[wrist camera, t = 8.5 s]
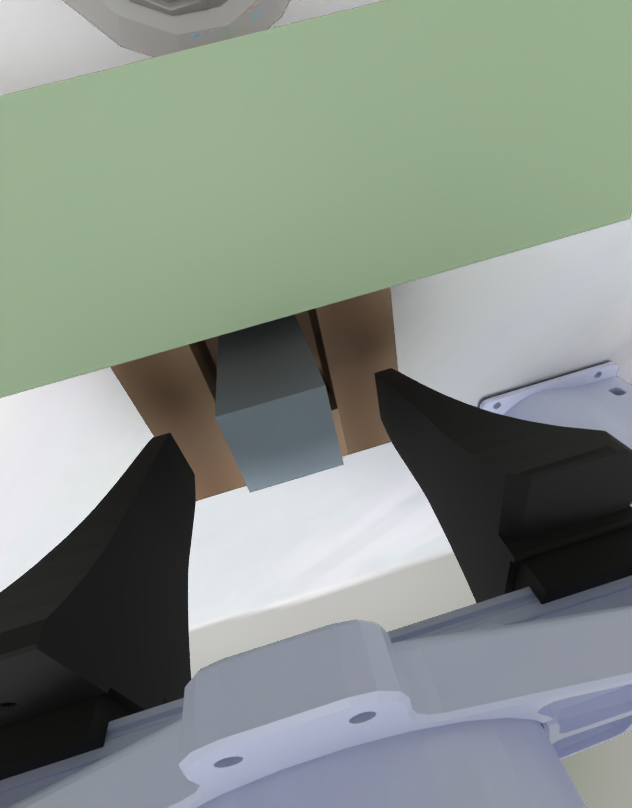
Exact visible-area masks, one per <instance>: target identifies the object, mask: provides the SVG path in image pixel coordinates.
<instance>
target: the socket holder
mask: <svg viewBox="0 0 632 808" xmlns="http://www.w3.org/2000/svg"><path fill="white" fill-rule="evenodd" d="M631 213H632V0H384V1H380V2H376V3H372V4H368V5H364V6H360V7H356V8H352V9H348V10H344V11H340V12H336V13H332V14H328V15H324V16H320V17H316V18H312V19H308V20H304V21H300V22H296V23H292V24H288V25H284V26H280V27H276V28H272V29H268V30H264V31H260V32H256V33H252V34H248V35H243V36H239V37H235V38H231V39H227V40H223V41H219V42H215V43H211V44H207V45H203V46H199V47H195V48H191V49H187V50H183V51H179V52H175V53H171V54H167V55H163V56H159V57H155V58H151V59H147V60H143V61H139V62H135V63H131V64H127V65H123V66H119V67H115V68H111V69H107V70H103V71H99V72H95V73H91V74H87V75H83V76H79V77H75V78H71V79H67V80H63V81H59V82H55V83H51V84H47V85H43V86H39V87H35V88H31V89H26V90H22V91H18V92H14V93H10V94H6V95H2V96H0V398H2V397H6V396H9V395H13V394H16V393H20V392H23V391H27V390H30V389H34V388H37V387H41V386H44V385H48V384H51V383H55V382H58V381H62V380H65V379H69V378H72V377H76V376H79V375H83V374H86V373H90V372H93V371H97V370H100V369H104V368H107V367H111V369H112V370H113V372H114V373H115V375H116V377H117V378H118V380H119V381H120V383H121V384H122V386H123V388H124V389H125V391H126V392H127V394H128V396H129V397H130V399H131V400H132V402H133V404H134V405H135V407H136V408H137V410H138V412H139V413H140V415H141V416H142V418H143V420H144V421H145V423H146V424H147V426H148V428H149V429H150V431H151V432H152V434H153V435H154V437H157V436H160V435H163V434H167V433H171V434H172V436H173V438H174V440H175V441H176V443H177V445H178V446H179V448H180V450H181V452H182V453H183V455H184V457H185V458H186V460H187V462H188V464H189V465H190V467H191V469H192V470H193V472H194V474H195V492H196V501H198V500H201V499H204V498H208V497H211V496H214V495H218V494H221V493H224V492H227V491H231V490H234V489H237V488H241V487H244V486H247V485H246V483H245V481H244V478H243V476H242V474H241V472H240V470H239V468H238V466H237V464H236V461H235V459H234V457H233V455H232V453H231V451H230V449H229V446H228V444H227V442H226V440H225V438H224V436H223V434H222V432H221V429H220V427H219V425H218V423H217V421H216V419H215V402H216V380H217V358H218V336H220V335H223V334H227V333H230V332H234V331H237V330H241V329H244V328H248V327H252V326H255V325H259V324H262V323H266V322H269V321H273V320H276V319H280V318H283V317H287V316H290V315H294V314H295V316H296V319H297V321H298V323H299V326H300V328H301V330H302V332H303V335H304V337H305V339H306V342H307V344H308V346H309V349H310V351H311V353H312V355H313V358H314V360H315V362H316V365H317V367H318V369H319V372H320V374H321V376H322V378H323V381H324V383H325V385H326V390H327V394H328V398H329V403H330V407H331V412H332V416H333V420H334V425H335V429H336V433H337V438H338V442H339V447H340V451H341V455H342V457H343V456H346V455H349V454H353V453H356V452H359V451H362V450H366V449H369V448H372V447H376V446H379V445H382V444H385V443H389V442H391V440H390V438H389V436H388V434H387V432H386V429H385V427H384V425H383V423H382V421H381V418H380V411H379V404H378V396H377V389H376V382H375V375H374V373H376V372H379V371H383V370H386V369H389V368H392V369H394V370H396V371H398V366H397V356H396V345H395V334H394V324H393V313H392V302H391V291H390V287H392V286H396V285H399V284H403V283H406V282H410V281H413V280H417V279H420V278H424V277H427V276H431V275H434V274H438V273H441V272H445V271H448V270H452V269H455V268H459V267H462V266H466V265H469V264H473V263H476V262H480V261H483V260H487V259H490V258H494V257H497V256H501V255H505V254H508V253H512V252H515V251H519V250H522V249H526V248H529V247H533V246H536V245H540V244H543V243H547V242H550V241H554V240H557V239H561V238H564V237H568V236H571V235H575V234H578V233H582V232H585V231H589V230H592V229H596V228H599V227H603V226H606V225H610V224H613V223H617V222H620V221H624V220H628V219H630V217H631Z"/></svg>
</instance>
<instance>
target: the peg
mask: <svg viewBox="0 0 632 808" xmlns="http://www.w3.org/2000/svg"><path fill="white" fill-rule="evenodd" d="M215 419H216V421H217V423H218V425H219V427H220V429H221V432H222V434H223V436H224V438H225V440H226V442H227V444H228V446H229V449H230V451H231V453H232V455H233V457H234V459H235V461H236V464H237V466H238V468H239V470H240V472H241V474H242V476H243V478H244V481H245V483H246V485H247V487H248V489H249V491H250V492H254V491H257V490H260V489H264V488H267V487H270V486H274V485H277V484H280V483H284V482H287V481H290V480H294V479H297V478H300V477H304V476H307V475H310V474H314V473H317V472H320V471H324V470H327V469H330V468H334V467H337V466H340V465H344V464H343V460H342V455H341V451H340V447H339V442H338V438H337V433H336V429H335V425H334V420H333V416H332V412H331V407H330V403H329V398H328V394H327V390H326V385H325V383H324V381H323V378H322V376H321V374H320V372H319V369H318V367H317V365H316V362H315V360H314V358H313V355H312V353H311V351H310V349H309V346H308V344H307V342H306V339H305V337H304V335H303V332H302V330H301V328H300V326H299V323H298V321H297V319H296V316H295V314H294V315H290V316H287V317H283V318H280V319H276V320H273V321H269V322H266V323H262V324H259V325H255V326H252V327H248V328H244V329H241V330H237V331H234V332H230V333H227V334H223V335H220V336H218V358H217V380H216V402H215Z"/></svg>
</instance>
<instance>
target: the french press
mask: <svg viewBox="0 0 632 808" xmlns="http://www.w3.org/2000/svg"><path fill="white" fill-rule="evenodd" d="M63 1H64V2H65V3H67V4H68V5H69V6H70V7H72V8H73V9H74V10H75V11H77V12H78V13H79V14H80V15H82V16H83V17H84V18H85V19H87V20H88V21H89V22H91V23H92V24H93V25H94V26H96V27H97V28H98V29H99V30H101V31H102V32H103V33H104V34H106V35H107V36H108V37H109V38H111V39H112V40H113V41H114V42H116V43H117V44H118V45H120V46H121V47H124V48H127V49H130V50H134V51H137V52H140V53H143V54H146V55H150V56H153V57H159V56H163V55H167V54H171V53H175V52H179V51H183V50H187V49H191V48H195V47H199V46H203V45H207V44H211V43H215V42H219V41H223V40H227V39H231V38H235V37H239V36H243V35H248V34H252V33H256V32H260V31H264V30H267V29H268V28H269V27H270V26H271V25H273V24H274V23H275V22H276V21H277V20H278V19H280V18H281V17H282V16H283V14H284V12H285V9H286V7H287V5H288V3H289V1H290V0H63Z"/></svg>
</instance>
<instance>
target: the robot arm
mask: <svg viewBox="0 0 632 808" xmlns="http://www.w3.org/2000/svg"><path fill="white" fill-rule="evenodd" d="M618 369H619V365H618V364H616V363H614V362H607V363H604V364H601V365H597V366H594V367H591V368H588V369H584V370H581V371H578V372H574V373H571V374H568V375H564V376H561V377H558V378H554V379H551V380H548V381H545V382H541V383H538V384H535V385H531V386H528V387H525V388H521V389H518V390H515V391H511V392H508V393H505V394H501V395H498V396H495V397H492V398H488V399H486V400H484V401H483V402H482V403H481V404H480V407H479V408H477V407H474V406H471V405H468V404H466V403H463V402H460V401H458V400H455V399H453V398H451V397H448V396H446V395H443V394H441V393H439V392H437V391H435V390H433V389H431V388H428V387H426V386H424V385H422V384H421V383H419V382H417V381H415V380H413V379H411V378H409V377H407V376H405V375H404V374H402V373H400V372H398V371H396V370H394V369H392V368H389V369H386V370H383V371H379V372H376V373H374V375H375V382H376V389H377V396H378V404H379V411H380V418H381V421H382V423H383V425H384V427H385V429H386V432H387V434H388V436H389V438H390V440H391V442H392V444H393V445H394V447H395V448H396V450H397V451H398V453H399V455H400V456H401V458H402V459H403V461H404V462H405V464H406V465H407V467H408V468H409V470H410V472H411V473H412V475H413V476H414V478H415V479H416V481H417V482H418V484H419V485H420V487H421V489H422V490H423V492H424V494H425V495H426V497H427V499H428V501H429V503H430V505H431V507H432V509H433V511H434V513H435V515H436V517H437V519H438V521H439V523H440V525H441V527H442V529H443V531H444V533H445V535H446V537H447V539H448V541H449V543H450V545H451V547H452V549H453V552H454V554H455V556H456V558H457V560H458V562H459V565H460V567H461V569H462V571H463V573H464V575H465V577H466V580H467V582H468V584H469V587H470V589H471V591H472V593H473V596H474V598H475V600H476V604H473V605H470V606H467V607H464V608H461V609H457V610H454V611H451V612H448V613H445V614H442V615H439V616H436V617H433V618H430V619H426V620H424V621H420V622H417V623H414V624H411V625H408V626H405V627H402V628H399V629H396V630H392V631H389V632H386V631H385V630H384V629H383V628H382V627H381V626H380V625H379V624H377V623H375V622H370V621H362V620H351V621H346V622H340V623H335V624H331V625H327V626H324V627H321V628H318V629H315V630H312V631H309V632H306V633H303V634H300V635H296V636H293V637H290V638H287V639H284V640H281V641H277V642H274V643H271V644H268V645H265V646H262V647H259V648H255V649H252V650H249V651H246V652H243V653H240V654H237V655H233V656H230V657H227V658H224V659H221V660H219V661H217V662H215V663H213V664H210V665H208V666H206V667H204V668H202V669H200V670H199V671H198V672H197V674H196V675H195V676H194V677H193V678H192V679H191V671H190V652H189V632H188V566H189V555H190V546H191V538H192V529H193V521H194V512H195V502H196V492H195V474H194V472H193V470H192V469H191V467H190V465H189V464H188V462H187V460H186V458H185V457H184V455H183V453H182V452H181V450H180V448H179V446H178V445H177V443H176V441H175V440H174V438H173V436H172V434H171V433H167V434H163V435H160V436H157V437H153V438H152V439H151V440H150V441H149V442H148V444H147V445H146V446H145V447H144V448H143V450H142V451H141V452H140V454H139V455H138V456H137V457H136V459H135V460H134V461H133V463H132V464H131V465H130V466H129V468H128V469H127V470H126V472H125V473H124V474H123V475H122V477H121V478H120V479H119V480H118V482H117V483H116V484H115V485H114V486H113V488H112V489H111V490H110V491H109V492H108V494H107V495H106V496H105V497H104V498H103V499H102V501H101V502H100V503H99V504H98V505H97V506H96V508H95V509H94V510H93V511H92V512H91V513H90V514H89V515H88V516H87V517H86V518H85V519H84V520H83V521H82V522H81V523H80V524H79V525H78V526H77V527H76V528H75V529H74V530H73V531H72V532H71V533H70V534H69V535H68V536H67V537H66V538H65V539H64V540H63V541H62V542H61V543H60V544H58V545H57V546H56V547H55V548H54V549H53V550H52V551H51V552H49V553H48V554H47V555H46V556H45V557H44V558H43V559H41V560H40V561H39V562H38V563H37V564H36V565H35V566H33V567H32V568H31V569H30V570H28V571H27V572H26V573H25V574H24V575H22V576H21V577H20V578H19V579H17V580H16V581H15V582H13V583H12V584H11V585H10V586H8V587H7V588H6V589H4V590H3V591H2V592H0V808H587V807H586V805H585V803H584V801H583V800H582V798H581V796H580V794H579V793H578V791H577V789H576V787H575V785H574V783H573V782H572V780H571V778H570V776H569V774H568V772H567V771H566V769H565V767H564V765H563V764H562V762H561V759H564V758H566V757H569V756H571V755H574V754H576V753H579V752H581V751H583V750H586V749H588V748H591V747H593V746H596V745H598V744H600V743H603V742H606V741H608V740H610V739H613V738H615V737H618V736H620V735H623V734H625V733H628V732H630V731H632V385H631V384H629V383H627V382H625V381H624V380H622V379H620V378H618V377H617V376H616V375H617V372H618ZM495 403H496V404H495ZM494 404H495V405H494Z"/></svg>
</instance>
